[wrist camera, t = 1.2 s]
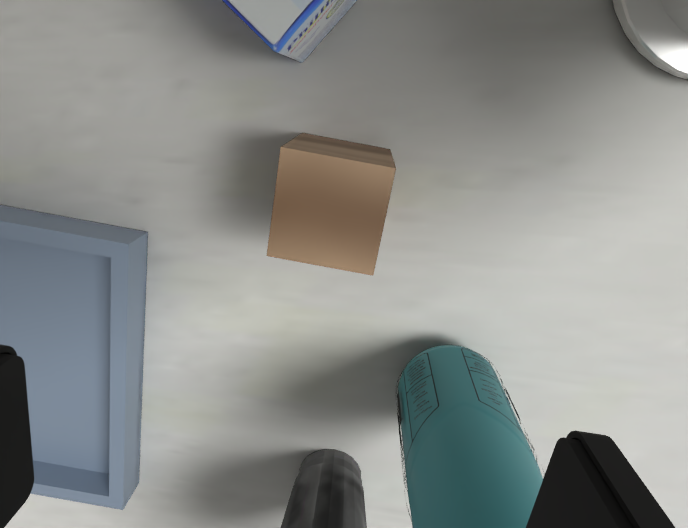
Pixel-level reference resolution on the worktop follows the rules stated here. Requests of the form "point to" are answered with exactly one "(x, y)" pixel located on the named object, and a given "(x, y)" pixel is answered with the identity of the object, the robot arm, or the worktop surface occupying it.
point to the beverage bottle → (463, 444)
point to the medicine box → (291, 22)
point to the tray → (77, 349)
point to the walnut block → (330, 203)
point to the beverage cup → (327, 493)
